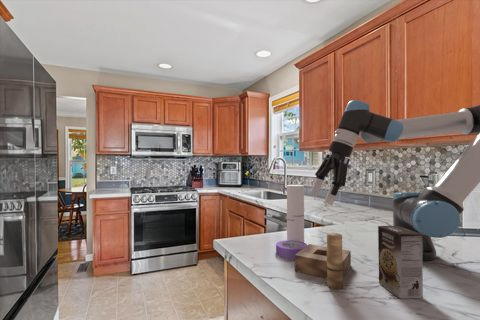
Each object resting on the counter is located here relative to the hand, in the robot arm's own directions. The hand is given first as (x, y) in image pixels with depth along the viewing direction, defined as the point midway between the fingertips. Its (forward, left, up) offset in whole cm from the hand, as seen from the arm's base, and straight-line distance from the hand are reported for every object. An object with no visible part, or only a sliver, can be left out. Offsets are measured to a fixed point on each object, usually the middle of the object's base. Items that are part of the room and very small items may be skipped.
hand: (320, 199), depth 93 cm
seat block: (-3, +9, -21) cm, 23 cm away
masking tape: (+11, +1, -22) cm, 24 cm away
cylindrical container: (+14, -11, -21) cm, 28 cm away
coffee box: (-24, +13, -21) cm, 35 cm away
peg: (-9, +20, -21) cm, 30 cm away
